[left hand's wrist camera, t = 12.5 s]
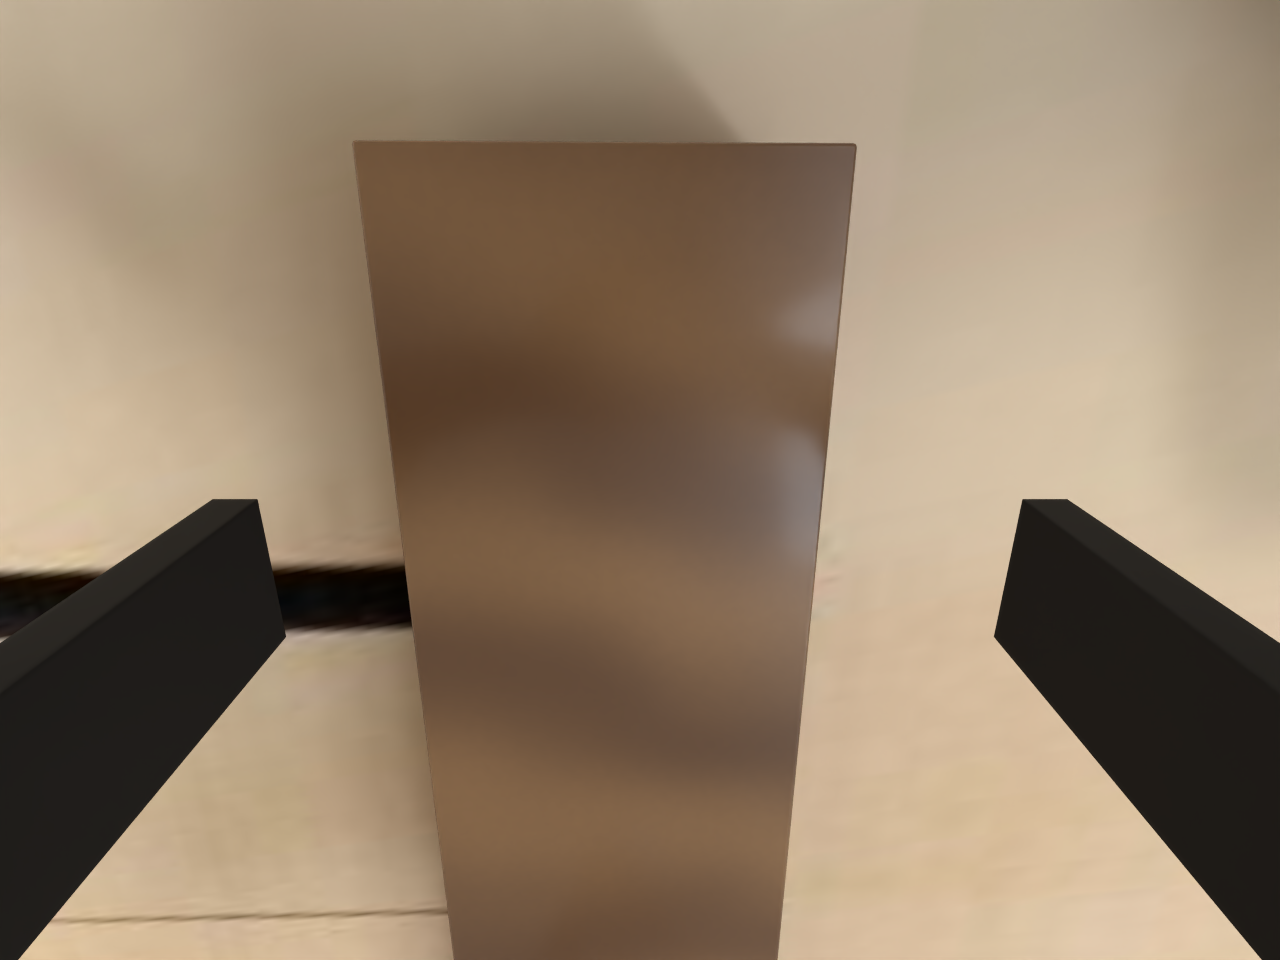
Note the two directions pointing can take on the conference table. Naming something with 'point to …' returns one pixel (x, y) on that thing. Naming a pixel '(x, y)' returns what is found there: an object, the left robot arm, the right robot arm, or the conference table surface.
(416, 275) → the slab
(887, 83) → the conference table surface
